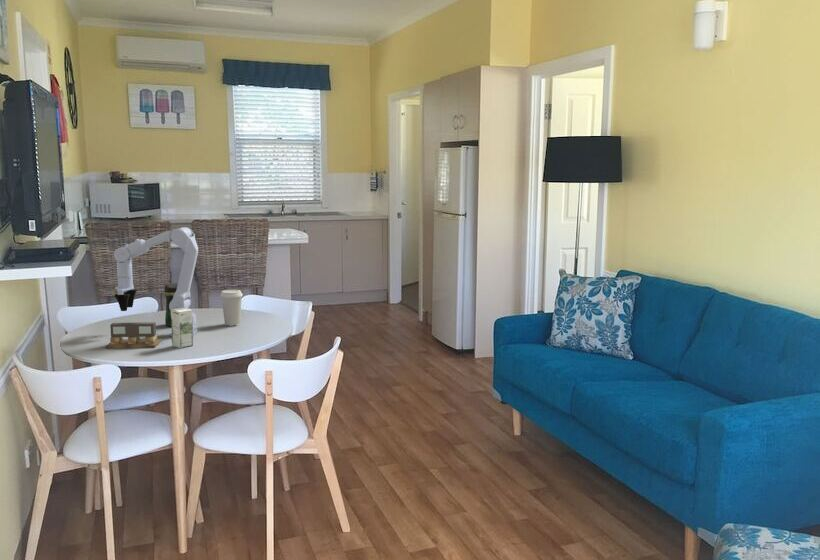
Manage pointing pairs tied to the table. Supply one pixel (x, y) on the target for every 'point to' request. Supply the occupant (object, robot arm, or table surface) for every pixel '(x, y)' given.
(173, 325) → the syrup box
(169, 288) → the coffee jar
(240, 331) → the table surface
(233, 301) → the coffee cup
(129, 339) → the display stand
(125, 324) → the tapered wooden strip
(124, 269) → the robot arm
